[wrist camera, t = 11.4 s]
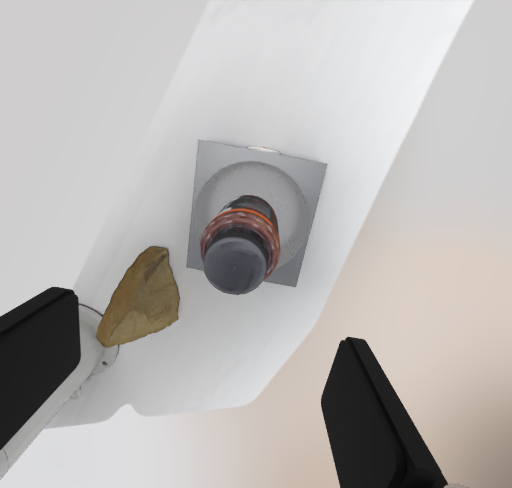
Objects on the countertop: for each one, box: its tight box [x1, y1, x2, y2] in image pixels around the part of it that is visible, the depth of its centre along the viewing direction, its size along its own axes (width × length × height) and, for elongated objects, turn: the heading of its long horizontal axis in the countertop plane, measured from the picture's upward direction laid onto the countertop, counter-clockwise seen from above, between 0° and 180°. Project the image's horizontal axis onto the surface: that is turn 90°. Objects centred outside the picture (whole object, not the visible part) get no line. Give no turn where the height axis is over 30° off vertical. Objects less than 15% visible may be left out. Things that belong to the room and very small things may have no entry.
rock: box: [96, 247, 180, 348], centre depth 31 cm, size 11×9×10 cm
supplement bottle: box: [200, 195, 280, 295], centre depth 21 cm, size 6×6×11 cm
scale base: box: [186, 140, 327, 287], centre depth 29 cm, size 14×13×4 cm
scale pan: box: [194, 161, 309, 269], centre depth 26 cm, size 12×12×1 cm
